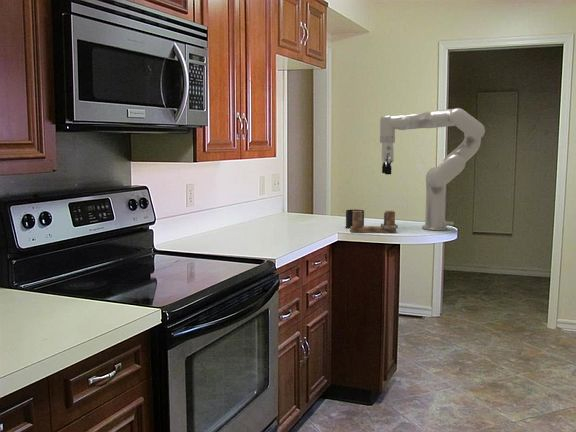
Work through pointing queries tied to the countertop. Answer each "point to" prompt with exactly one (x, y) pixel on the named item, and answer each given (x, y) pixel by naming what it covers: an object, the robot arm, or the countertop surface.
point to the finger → (389, 218)
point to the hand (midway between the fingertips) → (386, 173)
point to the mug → (351, 217)
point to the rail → (359, 228)
